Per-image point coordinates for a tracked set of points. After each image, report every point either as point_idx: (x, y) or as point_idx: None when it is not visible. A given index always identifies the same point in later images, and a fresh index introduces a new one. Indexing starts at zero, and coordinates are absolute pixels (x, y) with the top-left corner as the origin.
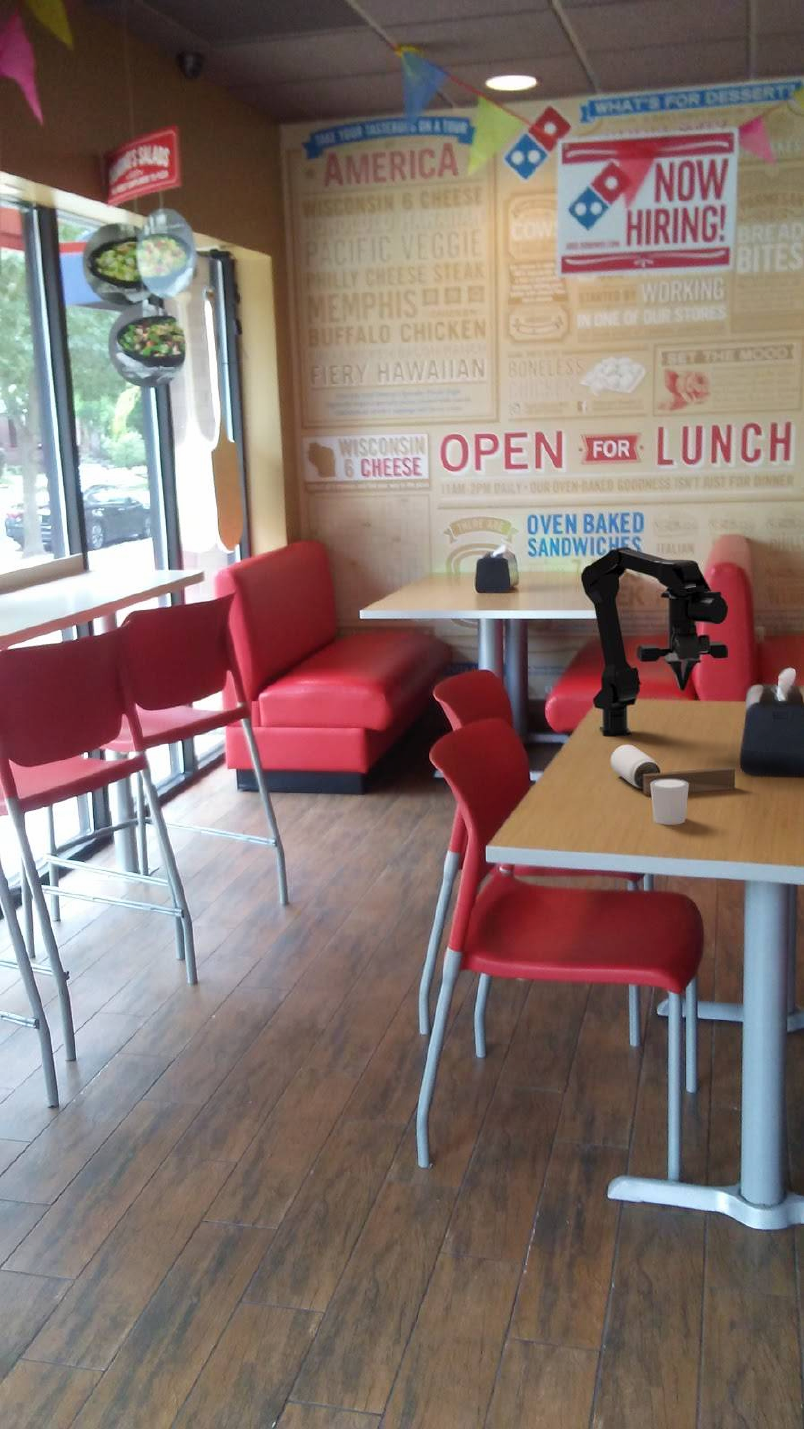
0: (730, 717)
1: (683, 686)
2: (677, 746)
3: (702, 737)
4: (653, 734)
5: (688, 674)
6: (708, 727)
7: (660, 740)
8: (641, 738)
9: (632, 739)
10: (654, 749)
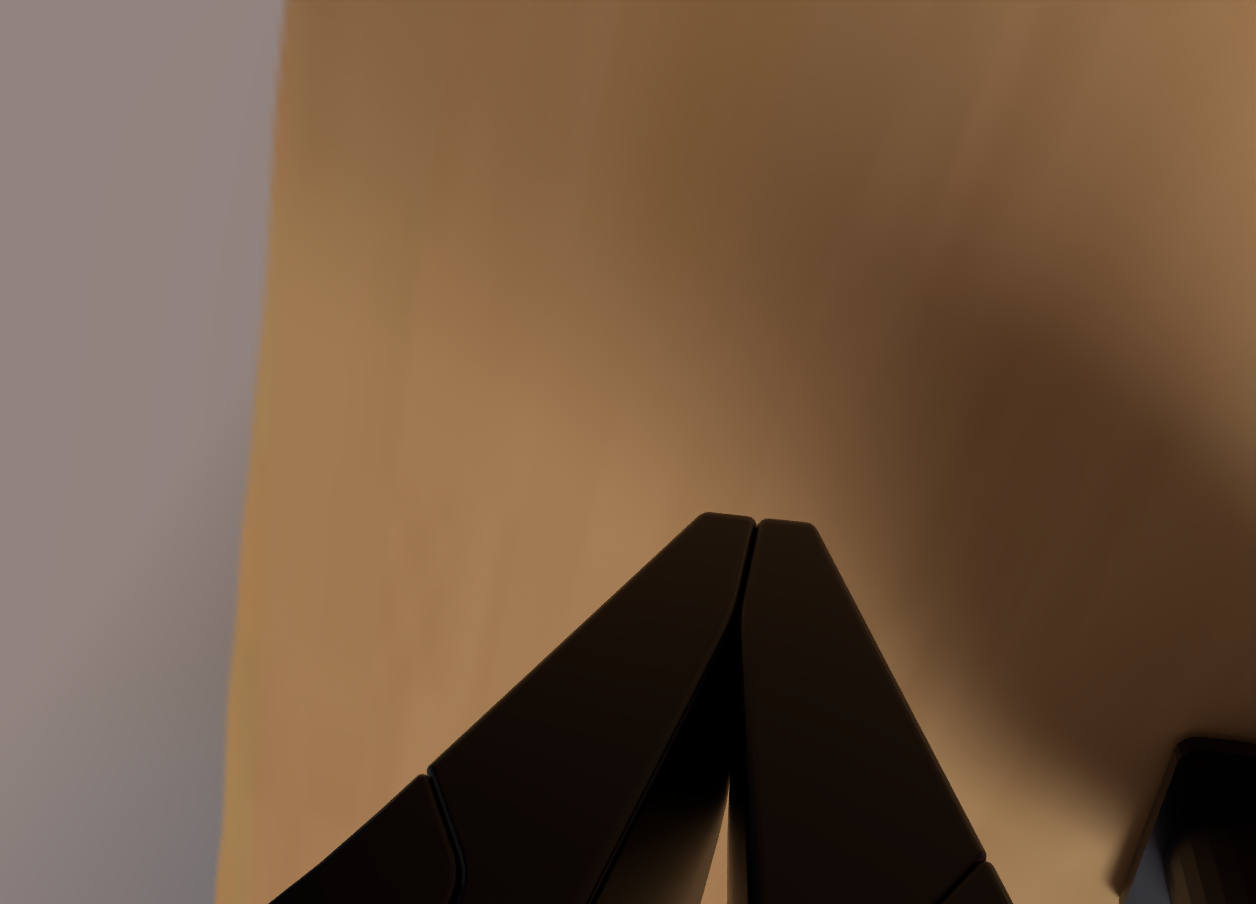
0: (236, 881)
1: (725, 571)
2: (867, 187)
3: (513, 465)
4: (951, 683)
5: (430, 843)
6: (415, 725)
7: (967, 476)
8: (1135, 596)
9: (1252, 589)
10: (1216, 109)
